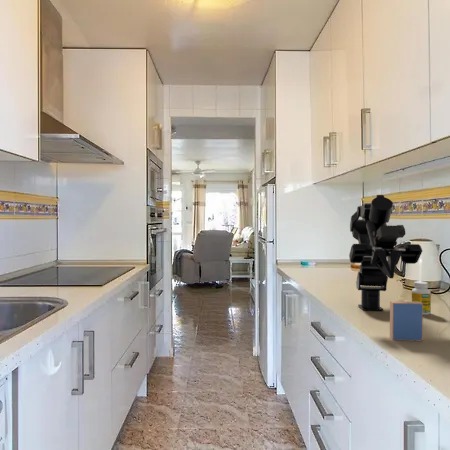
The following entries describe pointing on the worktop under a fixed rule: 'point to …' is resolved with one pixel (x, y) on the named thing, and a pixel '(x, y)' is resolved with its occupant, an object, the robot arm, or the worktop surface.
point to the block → (406, 320)
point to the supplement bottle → (422, 296)
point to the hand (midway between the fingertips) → (391, 277)
